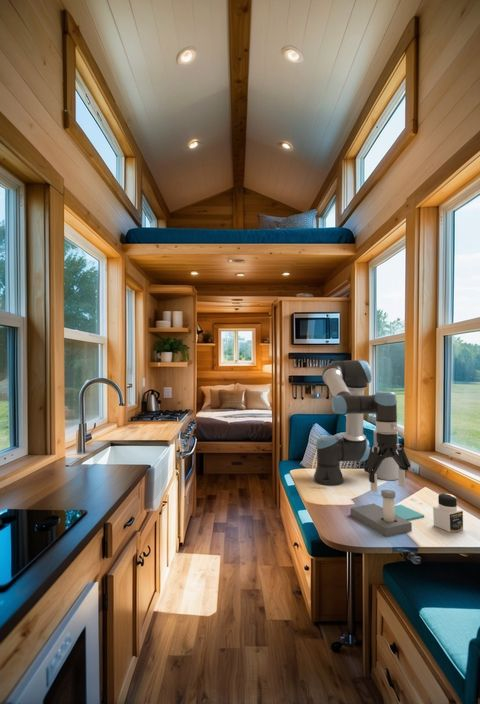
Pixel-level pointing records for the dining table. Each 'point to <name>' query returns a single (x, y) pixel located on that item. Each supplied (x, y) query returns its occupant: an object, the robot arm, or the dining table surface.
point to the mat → (406, 513)
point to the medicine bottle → (448, 514)
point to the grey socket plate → (380, 520)
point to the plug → (388, 505)
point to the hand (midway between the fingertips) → (388, 488)
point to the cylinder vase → (387, 466)
